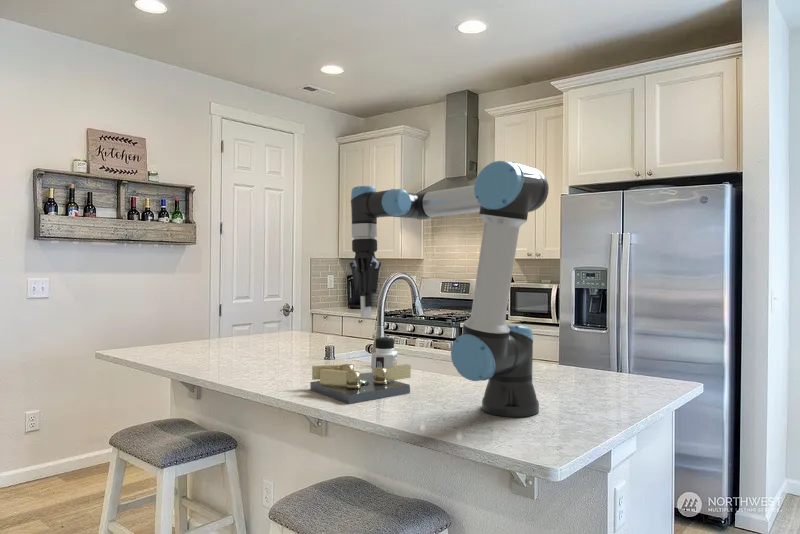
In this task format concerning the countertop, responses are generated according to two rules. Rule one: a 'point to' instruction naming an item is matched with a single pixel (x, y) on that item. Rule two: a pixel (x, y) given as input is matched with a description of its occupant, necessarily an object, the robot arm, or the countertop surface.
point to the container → (384, 353)
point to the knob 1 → (340, 378)
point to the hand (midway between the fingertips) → (366, 317)
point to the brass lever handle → (333, 367)
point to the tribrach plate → (361, 390)
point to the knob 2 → (391, 373)
